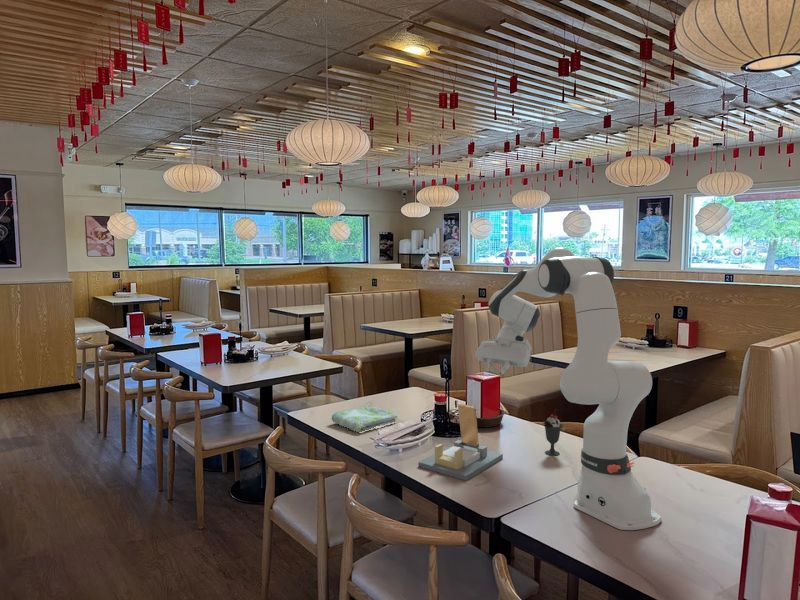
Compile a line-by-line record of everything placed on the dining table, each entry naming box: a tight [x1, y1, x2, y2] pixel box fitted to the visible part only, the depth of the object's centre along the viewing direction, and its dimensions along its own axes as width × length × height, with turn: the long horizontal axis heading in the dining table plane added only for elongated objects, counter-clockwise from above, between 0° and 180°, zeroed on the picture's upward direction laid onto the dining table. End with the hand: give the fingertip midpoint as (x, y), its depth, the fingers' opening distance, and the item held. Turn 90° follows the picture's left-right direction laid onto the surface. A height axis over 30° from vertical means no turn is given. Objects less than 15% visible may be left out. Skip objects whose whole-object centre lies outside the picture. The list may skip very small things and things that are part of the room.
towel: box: [331, 405, 398, 433], centre depth 220 cm, size 18×21×5 cm
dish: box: [476, 408, 506, 428], centre depth 220 cm, size 18×22×5 cm
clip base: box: [417, 439, 504, 481], centre depth 178 cm, size 23×18×7 cm
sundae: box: [542, 408, 564, 457], centre depth 185 cm, size 7×7×15 cm
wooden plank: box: [457, 403, 480, 449], centre depth 180 cm, size 2×6×15 cm, turn 51°
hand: (494, 372), depth 193 cm, fingers open, 3 cm apart
